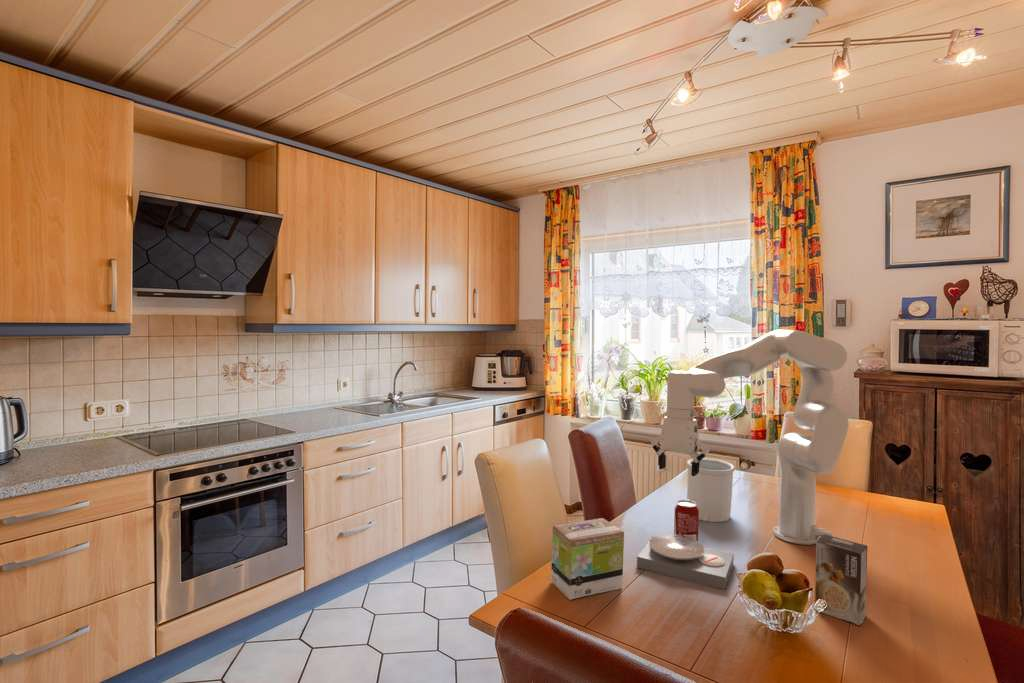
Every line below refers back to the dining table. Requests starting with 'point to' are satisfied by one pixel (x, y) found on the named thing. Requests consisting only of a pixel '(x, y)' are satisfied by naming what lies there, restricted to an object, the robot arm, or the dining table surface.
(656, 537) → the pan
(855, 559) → the coffee box
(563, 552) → the tea box
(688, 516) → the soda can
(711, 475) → the utensil holder
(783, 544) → the dining table surface
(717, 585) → the scale
